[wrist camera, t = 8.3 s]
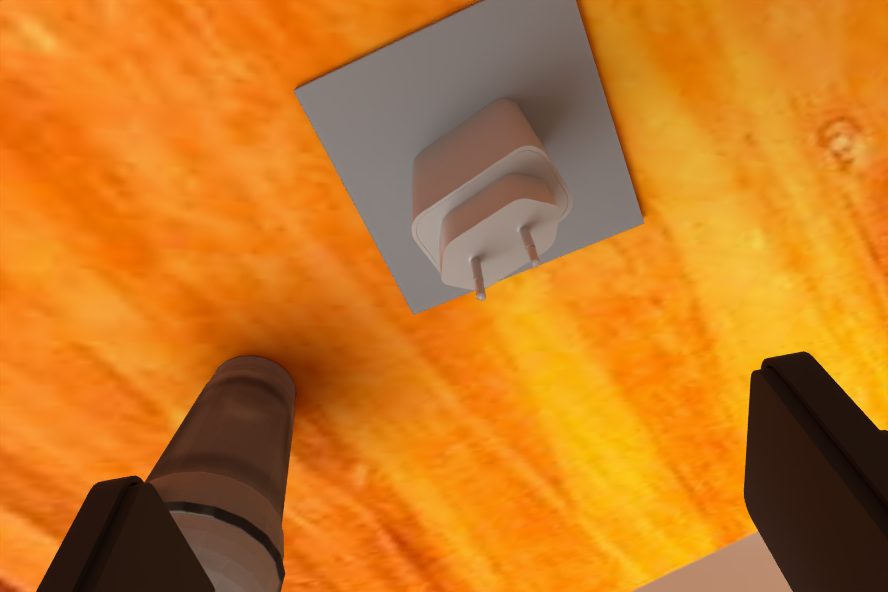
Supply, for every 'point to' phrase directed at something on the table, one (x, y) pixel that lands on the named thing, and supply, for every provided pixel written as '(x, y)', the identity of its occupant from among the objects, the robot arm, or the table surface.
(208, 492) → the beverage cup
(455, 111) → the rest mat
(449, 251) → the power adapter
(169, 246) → the table surface
